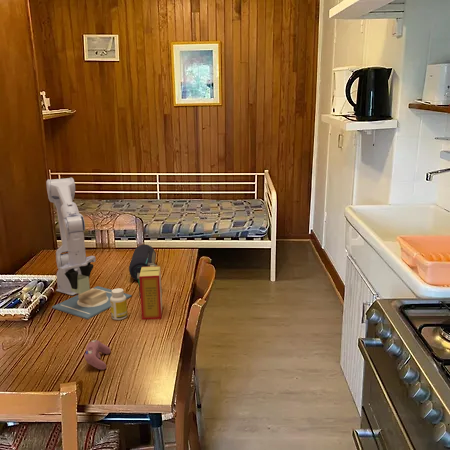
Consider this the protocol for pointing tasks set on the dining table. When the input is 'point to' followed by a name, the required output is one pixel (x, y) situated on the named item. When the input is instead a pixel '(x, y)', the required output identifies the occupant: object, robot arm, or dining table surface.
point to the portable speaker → (141, 259)
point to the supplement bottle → (118, 304)
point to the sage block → (82, 284)
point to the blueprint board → (86, 309)
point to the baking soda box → (151, 292)
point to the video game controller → (96, 354)
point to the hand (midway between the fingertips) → (80, 286)
